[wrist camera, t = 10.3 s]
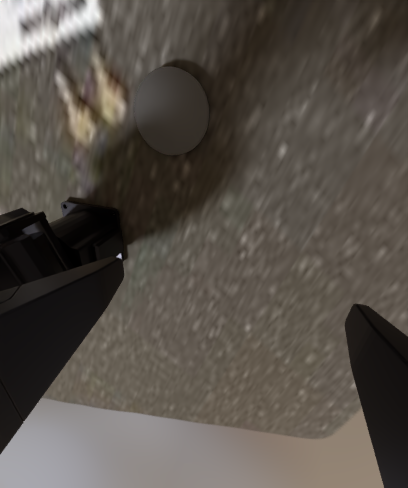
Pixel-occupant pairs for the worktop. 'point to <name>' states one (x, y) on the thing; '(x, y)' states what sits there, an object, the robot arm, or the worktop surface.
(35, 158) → the worktop surface
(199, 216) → the worktop surface
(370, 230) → the worktop surface
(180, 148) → the lens cap
